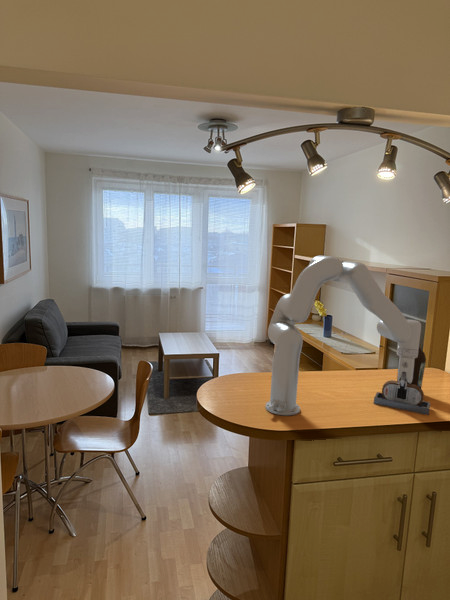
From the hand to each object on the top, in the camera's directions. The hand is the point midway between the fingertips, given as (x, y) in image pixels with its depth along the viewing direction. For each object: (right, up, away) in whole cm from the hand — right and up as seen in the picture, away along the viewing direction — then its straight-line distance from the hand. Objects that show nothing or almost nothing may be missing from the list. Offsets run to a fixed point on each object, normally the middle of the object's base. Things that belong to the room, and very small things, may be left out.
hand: (402, 394), depth 166 cm
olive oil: (+9, -3, +16) cm, 19 cm away
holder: (0, -5, +1) cm, 5 cm away
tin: (-1, -4, 0) cm, 4 cm away
